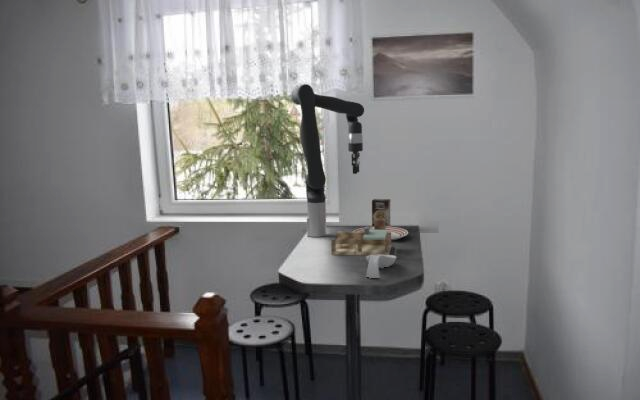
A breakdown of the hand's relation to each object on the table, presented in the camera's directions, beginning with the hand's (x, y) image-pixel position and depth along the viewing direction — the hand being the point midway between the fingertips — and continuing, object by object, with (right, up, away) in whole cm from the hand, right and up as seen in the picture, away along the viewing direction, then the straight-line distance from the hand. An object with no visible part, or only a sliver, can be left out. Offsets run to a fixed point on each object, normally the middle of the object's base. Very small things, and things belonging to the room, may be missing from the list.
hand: (356, 173), depth 263 cm
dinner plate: (+10, -33, -19) cm, 40 cm away
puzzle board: (-1, -37, -47) cm, 60 cm away
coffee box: (+13, -30, 0) cm, 33 cm away
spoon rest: (+3, -41, -76) cm, 86 cm away
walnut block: (+10, -30, -20) cm, 37 cm away
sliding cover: (+5, -29, -49) cm, 58 cm away
